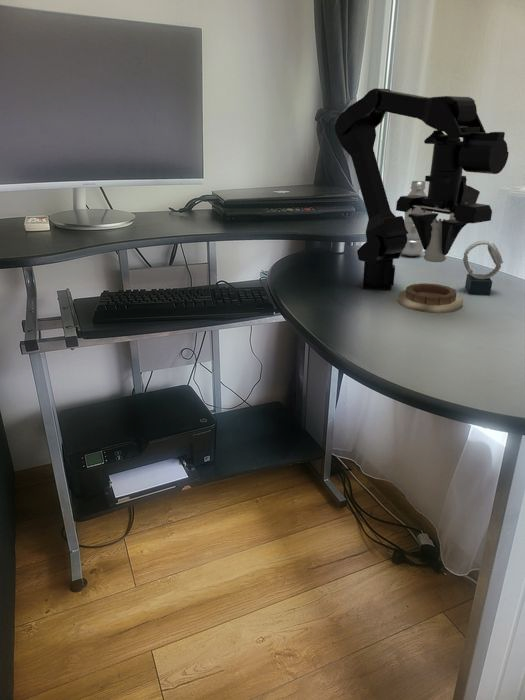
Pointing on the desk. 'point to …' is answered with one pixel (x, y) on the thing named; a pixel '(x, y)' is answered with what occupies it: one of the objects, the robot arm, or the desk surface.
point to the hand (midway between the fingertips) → (435, 252)
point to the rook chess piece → (435, 243)
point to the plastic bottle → (413, 238)
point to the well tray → (430, 298)
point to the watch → (478, 282)
